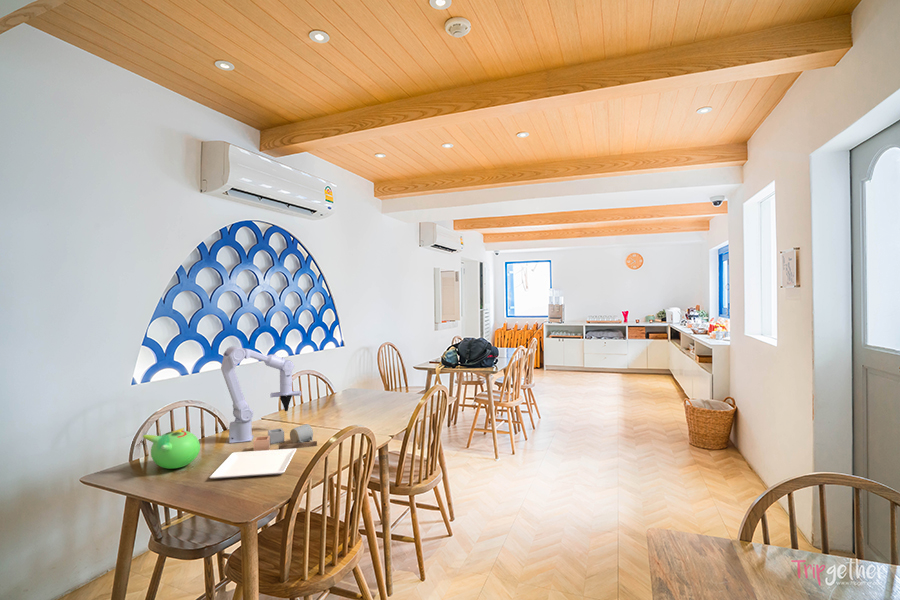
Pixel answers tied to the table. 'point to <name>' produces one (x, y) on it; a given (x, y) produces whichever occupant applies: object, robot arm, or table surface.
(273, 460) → the plate
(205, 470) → the table surface
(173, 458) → the green teapot
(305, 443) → the walnut strip
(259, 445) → the terracotta pot
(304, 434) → the ceramic mug
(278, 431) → the slate pot
